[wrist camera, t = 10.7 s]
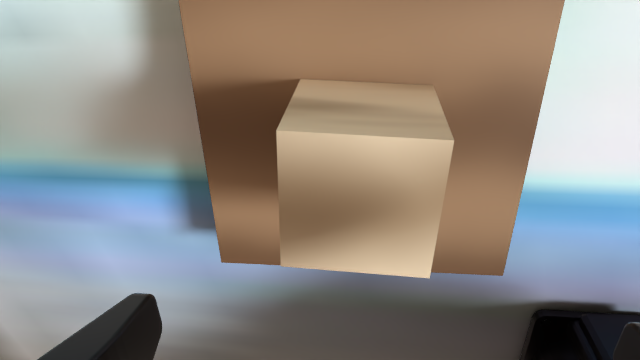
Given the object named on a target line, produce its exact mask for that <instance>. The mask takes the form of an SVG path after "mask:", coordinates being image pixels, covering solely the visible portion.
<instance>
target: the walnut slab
mask: <svg viewBox="0 0 640 360" xmlns="http://www.w3.org/2000/svg"><path fill="white" fill-rule="evenodd" d="M564 1H565V0H179V6H180V12H181V18H182V25H183V31H184V37H185V43H186V49H187V55H188V61H189V67H190V73H191V79H192V85H193V92H194V98H195V104H196V110H197V116H198V122H199V128H200V134H201V140H202V146H203V152H204V159H205V165H206V171H207V177H208V183H209V189H210V195H211V201H212V207H213V213H214V219H215V226H216V232H217V238H218V244H219V250H220V256H221V262H225V263H246V264H267V265H281V260H280V229H279V198H278V168H277V137H276V130H277V128H278V126H279V124H280V121H281V119H282V117H283V115H284V113H285V111H286V109H287V107H288V105H289V102H290V100H291V98H292V96H293V94H294V92H295V90H296V88H297V85H298V83H299V81H300V79H309V80H330V81H351V82H372V83H393V84H415V85H433V86H434V89H435V91H436V94H437V96H438V99H439V102H440V104H441V107H442V110H443V112H444V115H445V117H446V120H447V123H448V125H449V128H450V130H451V133H452V136H453V138H454V145H453V151H452V156H451V162H450V168H449V173H448V179H447V184H446V190H445V195H444V201H443V207H442V212H441V218H440V223H439V229H438V235H437V240H436V246H435V251H434V257H433V262H432V268H431V272H435V273H456V274H477V275H498V276H503V273H504V268H505V264H506V259H507V255H508V250H509V246H510V241H511V237H512V233H513V228H514V224H515V219H516V215H517V210H518V206H519V201H520V197H521V193H522V188H523V184H524V179H525V175H526V170H527V166H528V161H529V157H530V152H531V148H532V144H533V139H534V135H535V130H536V126H537V121H538V117H539V112H540V108H541V104H542V99H543V95H544V90H545V86H546V81H547V77H548V72H549V68H550V64H551V59H552V55H553V50H554V46H555V41H556V37H557V32H558V28H559V23H560V19H561V15H562V10H563V6H564Z"/></svg>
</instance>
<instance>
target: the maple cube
mask: <svg viewBox="0 0 640 360" xmlns="http://www.w3.org/2000/svg"><path fill="white" fill-rule="evenodd" d="M276 137H277V168H278V198H279V229H280V260H281V266H284V267H296V268H308V269H321V270H333V271H346V272H358V273H370V274H383V275H395V276H408V277H420V278H430V274H431V268H432V262H433V257H434V251H435V246H436V240H437V235H438V229H439V223H440V218H441V212H442V207H443V201H444V195H445V190H446V184H447V179H448V173H449V168H450V162H451V156H452V151H453V145H454V138H453V136H452V133H451V130H450V128H449V125H448V123H447V120H446V117H445V115H444V112H443V110H442V107H441V104H440V102H439V99H438V96H437V94H436V91H435V89H434V86H433V85H415V84H393V83H372V82H351V81H330V80H309V79H300V81H299V83H298V85H297V88H296V90H295V92H294V94H293V96H292V98H291V100H290V102H289V105H288V107H287V109H286V111H285V113H284V115H283V117H282V119H281V121H280V124H279V126H278V128H277V130H276Z"/></svg>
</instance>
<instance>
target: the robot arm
mask: <svg viewBox="0 0 640 360" xmlns="http://www.w3.org/2000/svg"><path fill="white" fill-rule="evenodd" d="M546 319H547V320H546ZM542 320H545V321H542ZM161 333H162V321H161V317H160V314H159V310H158V306H157V302H156V299H155V297H154V296H153V295H151V294H142V293H134V294H131V295H129V296H128V297H126V298H125V299H123V300H122V301H121V302H119V303H118V304H116V305H115V306H113V307H112V308H111V309H109V310H108V311H106V312H105V313H103V314H102V315H100V316H99V317H98V318H96V319H95V320H93V321H92V322H90V323H89V324H88V325H86V326H85V327H83V328H82V329H80V330H79V331H77V332H76V333H75V334H73V335H72V336H70V337H69V338H67V339H66V340H65V341H63V342H62V343H60V344H59V345H57V346H56V347H55V348H53V349H52V350H50V351H49V352H47V353H46V354H44V355H43V356H42V357H40V358H39V359H37V360H153V358H154V355H155V352H156V349H157V346H158V343H159V340H160V337H161ZM520 360H640V315H624V314H608V313H591V312H575V311H558V310H540V311H537V312H536V313H534V315H533V316H532V320H531V323H530V327H529V330H528V333H527V337H526V340H525V344H524V347H523V350H522V354H521V357H520Z"/></svg>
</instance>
